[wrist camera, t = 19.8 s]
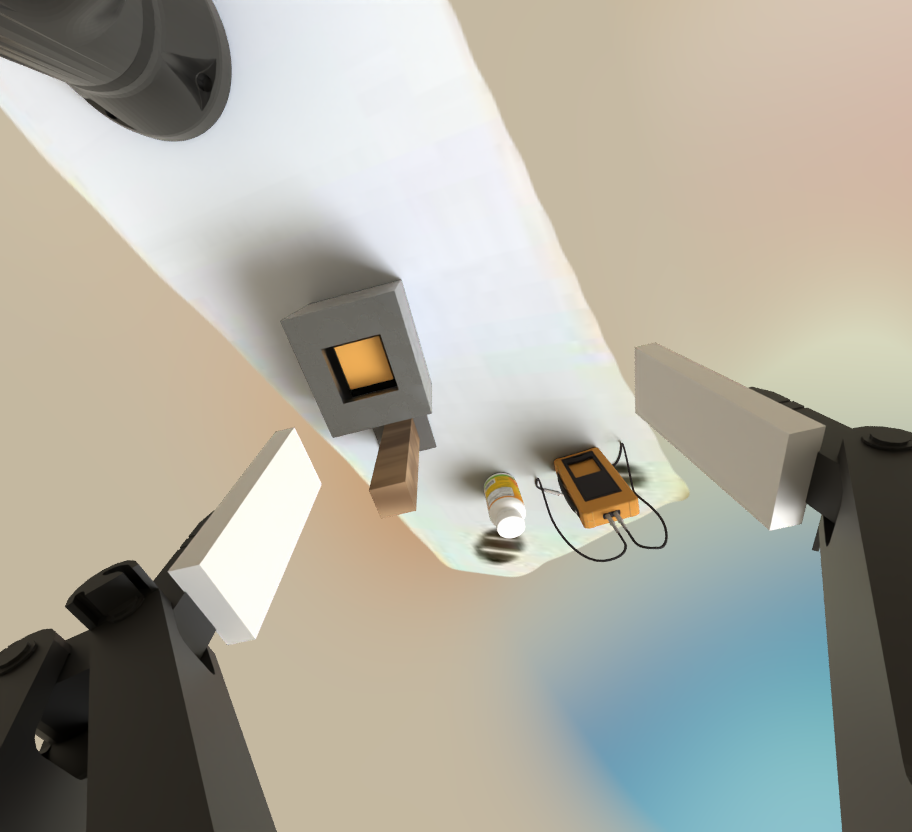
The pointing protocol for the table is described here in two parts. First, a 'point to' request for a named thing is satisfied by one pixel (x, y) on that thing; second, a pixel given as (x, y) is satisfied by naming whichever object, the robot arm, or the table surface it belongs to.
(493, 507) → the supplement bottle
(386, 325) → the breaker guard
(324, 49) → the table surface
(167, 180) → the table surface
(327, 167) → the table surface
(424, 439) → the rest mat
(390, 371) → the button
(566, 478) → the multimeter
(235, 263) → the table surface
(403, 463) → the brown rectangular block
